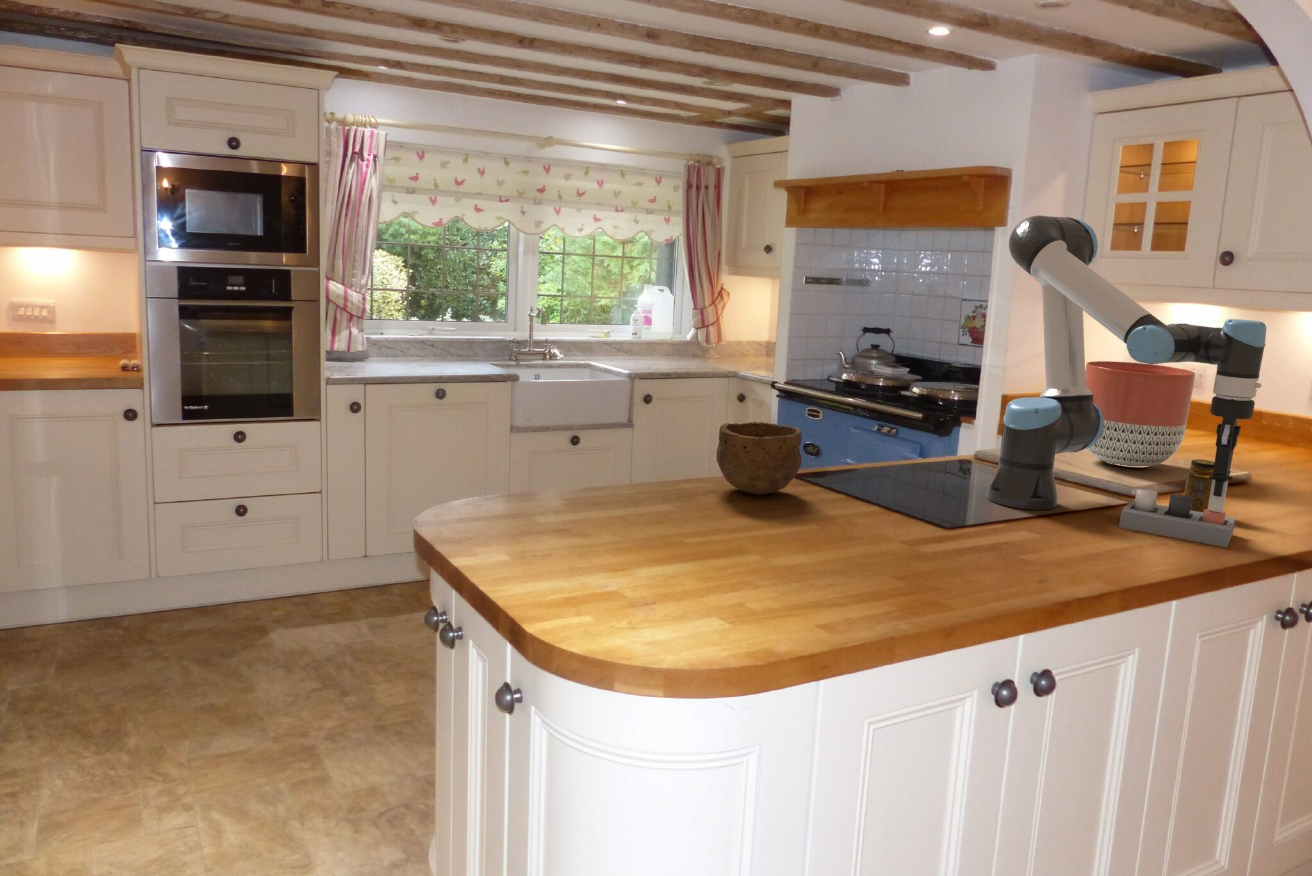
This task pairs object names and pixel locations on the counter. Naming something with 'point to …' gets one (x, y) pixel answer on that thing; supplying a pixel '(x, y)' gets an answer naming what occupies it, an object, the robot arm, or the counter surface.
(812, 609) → the counter surface
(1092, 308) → the robot arm
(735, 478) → the bowl
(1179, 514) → the black button
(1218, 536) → the button board
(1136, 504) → the white button
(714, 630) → the counter surface
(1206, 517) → the red button
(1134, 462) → the planter
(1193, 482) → the condiment
